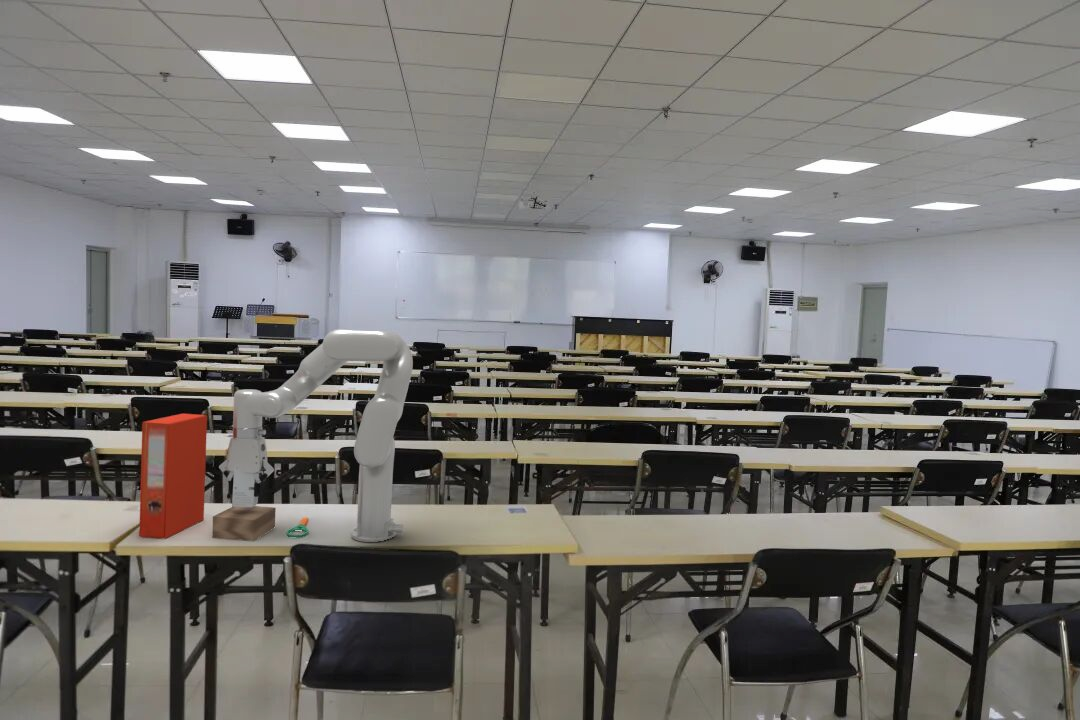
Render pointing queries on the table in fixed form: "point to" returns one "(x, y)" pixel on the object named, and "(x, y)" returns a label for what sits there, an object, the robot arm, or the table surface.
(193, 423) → the file binder
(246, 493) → the skincare box
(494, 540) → the table surface
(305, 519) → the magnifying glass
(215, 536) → the walnut block
